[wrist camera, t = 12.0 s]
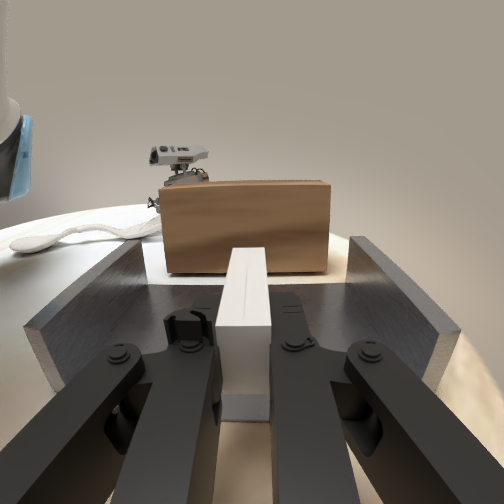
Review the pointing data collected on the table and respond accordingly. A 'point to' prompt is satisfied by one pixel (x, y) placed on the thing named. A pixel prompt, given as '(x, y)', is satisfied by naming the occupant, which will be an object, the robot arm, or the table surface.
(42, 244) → the white elongated piece
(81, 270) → the table surface
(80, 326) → the chute
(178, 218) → the slab
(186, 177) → the figurine
